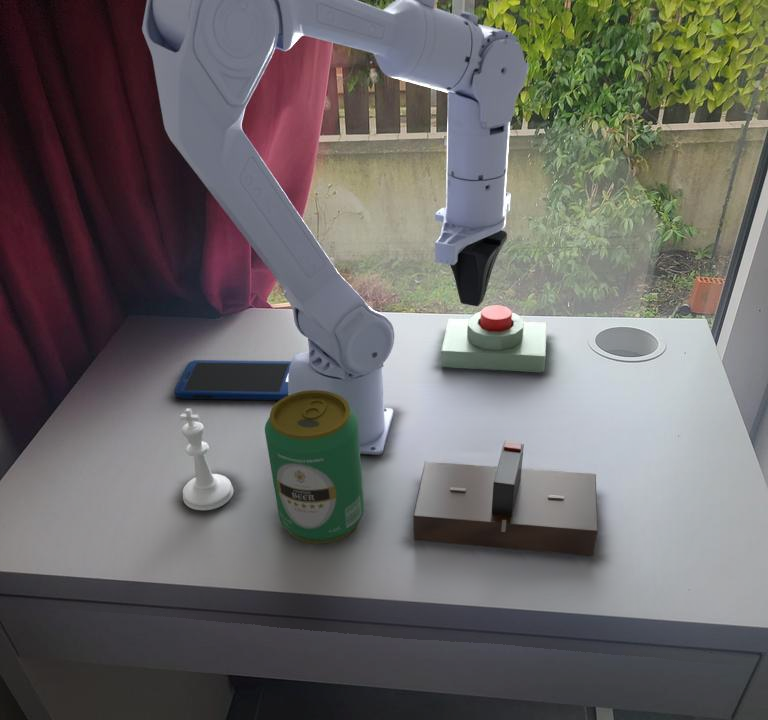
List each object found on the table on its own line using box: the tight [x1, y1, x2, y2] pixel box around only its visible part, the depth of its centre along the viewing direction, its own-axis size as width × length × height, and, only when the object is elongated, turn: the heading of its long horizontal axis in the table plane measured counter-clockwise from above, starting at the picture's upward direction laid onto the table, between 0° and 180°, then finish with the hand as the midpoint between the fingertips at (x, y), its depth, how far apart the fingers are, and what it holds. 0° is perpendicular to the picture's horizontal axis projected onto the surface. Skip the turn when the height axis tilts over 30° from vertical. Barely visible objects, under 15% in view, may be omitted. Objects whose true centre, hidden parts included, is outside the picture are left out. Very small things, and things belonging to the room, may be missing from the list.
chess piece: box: [179, 407, 234, 511], centre depth 77 cm, size 5×5×10 cm
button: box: [480, 304, 513, 332], centre depth 95 cm, size 4×4×2 cm
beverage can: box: [264, 390, 365, 545], centre depth 73 cm, size 8×8×12 cm
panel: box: [412, 460, 599, 557], centre depth 75 cm, size 16×10×3 cm, turn 80°
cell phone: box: [173, 359, 292, 401], centre depth 95 cm, size 7×14×1 cm, turn 85°
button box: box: [440, 311, 548, 373], centre depth 97 cm, size 12×8×4 cm, turn 80°
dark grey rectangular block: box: [492, 440, 525, 516], centre depth 73 cm, size 6×2×4 cm, turn 165°
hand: (471, 302), depth 86 cm, fingers closed
